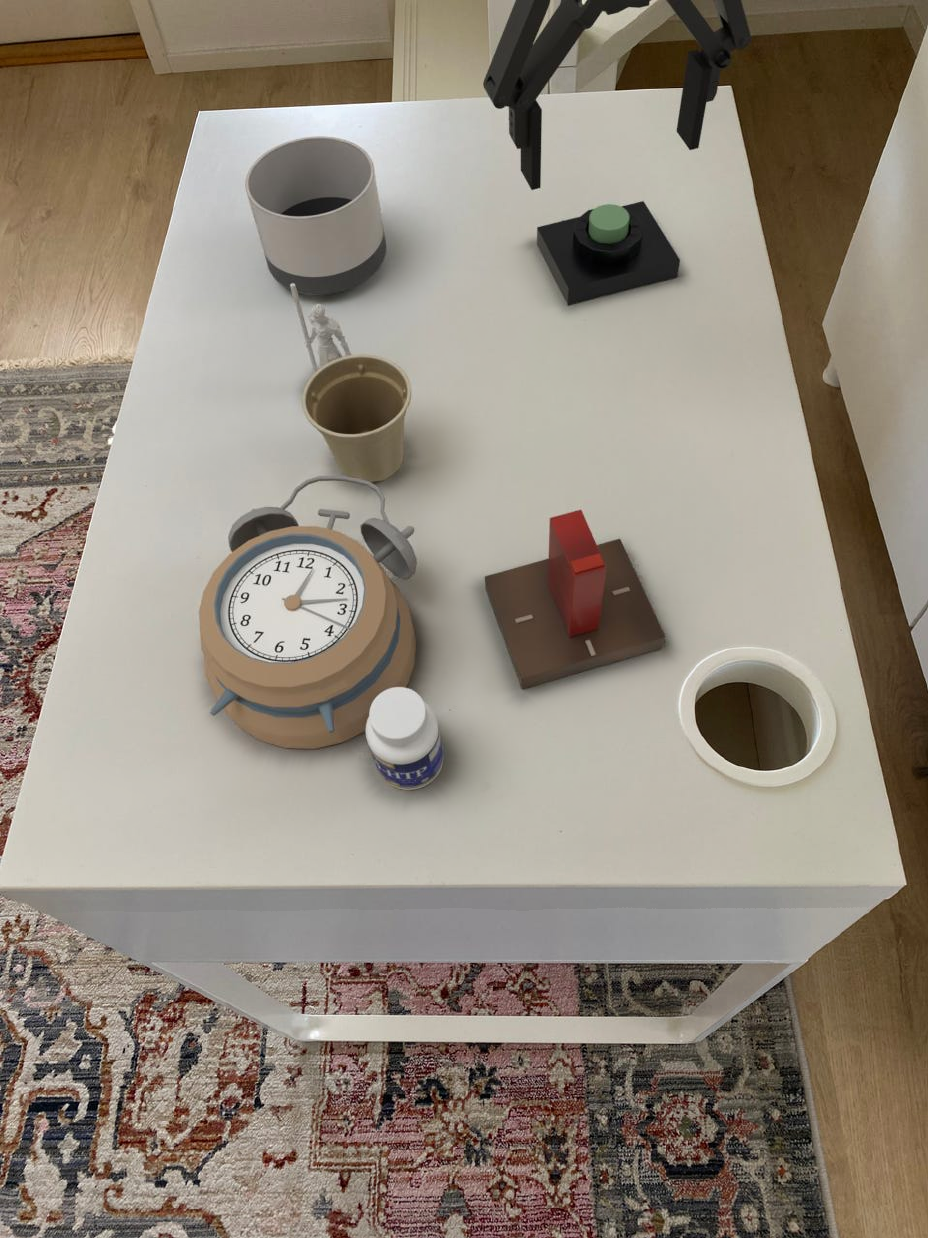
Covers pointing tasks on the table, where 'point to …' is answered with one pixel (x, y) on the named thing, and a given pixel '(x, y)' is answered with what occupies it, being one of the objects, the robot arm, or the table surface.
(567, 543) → the red rectangular block
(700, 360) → the table surface
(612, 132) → the table surface
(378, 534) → the alarm clock
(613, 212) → the release button
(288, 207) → the planter
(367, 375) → the flower pot
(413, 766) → the pill bottle
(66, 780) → the table surface
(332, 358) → the figurine
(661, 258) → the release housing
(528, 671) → the base plate
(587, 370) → the table surface
